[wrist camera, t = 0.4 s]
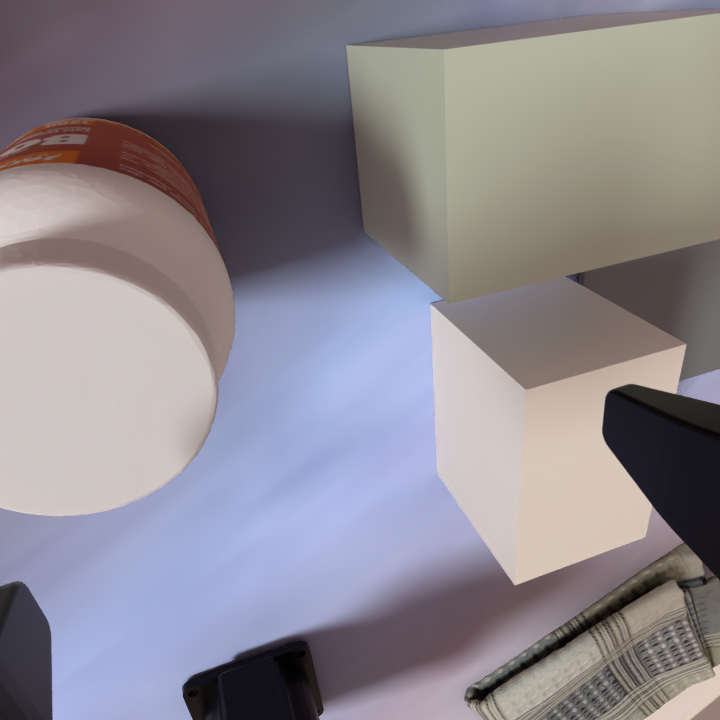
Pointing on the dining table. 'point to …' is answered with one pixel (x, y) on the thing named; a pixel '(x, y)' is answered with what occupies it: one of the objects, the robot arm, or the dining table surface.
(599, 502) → the upright cream box
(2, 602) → the robot arm
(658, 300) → the slate mat
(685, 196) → the pale green block
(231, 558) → the dining table surface
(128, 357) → the pill bottle
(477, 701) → the dish towel
